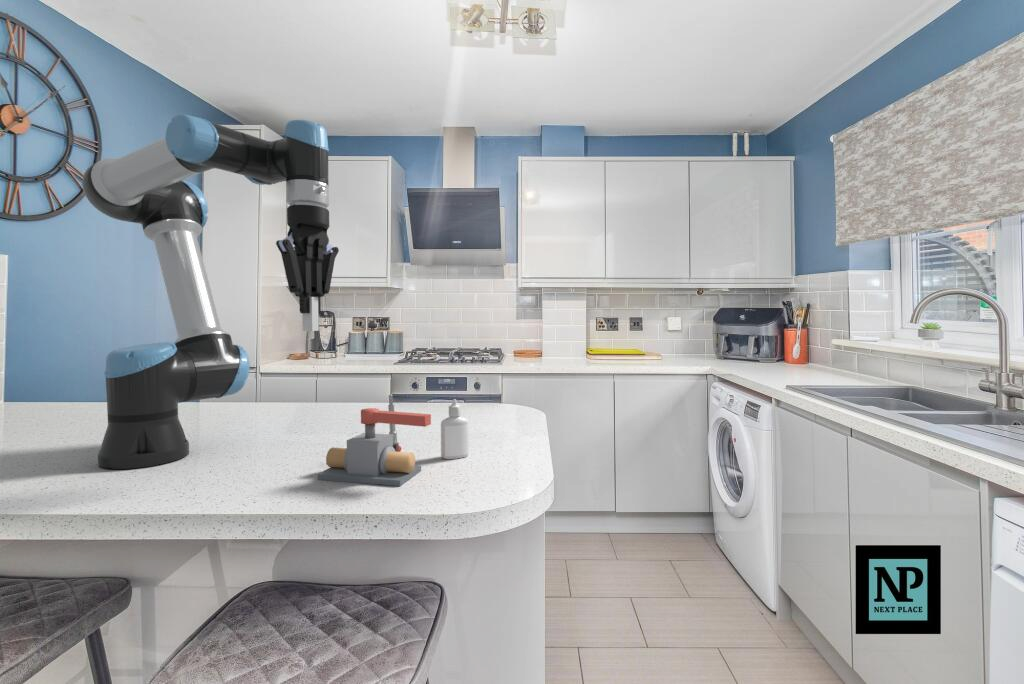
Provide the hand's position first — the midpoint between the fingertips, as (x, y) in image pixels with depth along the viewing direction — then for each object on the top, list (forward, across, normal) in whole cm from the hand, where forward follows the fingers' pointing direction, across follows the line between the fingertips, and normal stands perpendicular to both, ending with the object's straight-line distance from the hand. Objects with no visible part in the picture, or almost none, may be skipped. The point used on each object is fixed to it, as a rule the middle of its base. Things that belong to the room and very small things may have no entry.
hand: (310, 330), depth 99 cm
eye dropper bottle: (+27, +18, -21) cm, 38 cm away
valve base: (+26, +1, -14) cm, 30 cm away
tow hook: (+27, +11, -6) cm, 30 cm away
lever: (+17, +1, -19) cm, 26 cm away
